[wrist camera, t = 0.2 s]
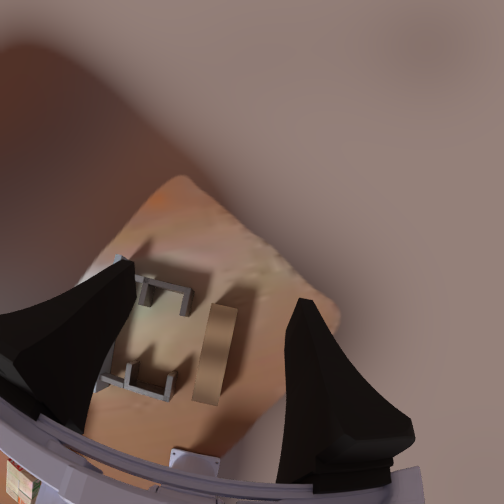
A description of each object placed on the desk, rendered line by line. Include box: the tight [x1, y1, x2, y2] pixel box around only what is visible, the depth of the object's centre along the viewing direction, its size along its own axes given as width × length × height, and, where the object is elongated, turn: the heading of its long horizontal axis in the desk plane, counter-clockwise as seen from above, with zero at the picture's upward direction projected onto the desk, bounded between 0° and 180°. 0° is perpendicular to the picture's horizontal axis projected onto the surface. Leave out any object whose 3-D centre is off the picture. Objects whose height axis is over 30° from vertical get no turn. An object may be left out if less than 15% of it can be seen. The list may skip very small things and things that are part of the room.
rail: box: [192, 303, 238, 406], centre depth 37 cm, size 14×4×5 cm, turn 169°
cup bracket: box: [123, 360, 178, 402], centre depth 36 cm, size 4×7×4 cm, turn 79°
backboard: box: [93, 254, 144, 393], centre depth 37 cm, size 21×5×5 cm, turn 169°
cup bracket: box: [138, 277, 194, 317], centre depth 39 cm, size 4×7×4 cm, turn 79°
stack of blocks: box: [6, 445, 69, 504], centre depth 25 cm, size 21×6×12 cm, turn 154°
